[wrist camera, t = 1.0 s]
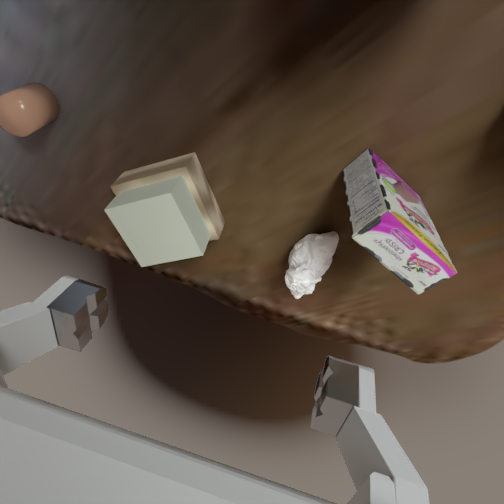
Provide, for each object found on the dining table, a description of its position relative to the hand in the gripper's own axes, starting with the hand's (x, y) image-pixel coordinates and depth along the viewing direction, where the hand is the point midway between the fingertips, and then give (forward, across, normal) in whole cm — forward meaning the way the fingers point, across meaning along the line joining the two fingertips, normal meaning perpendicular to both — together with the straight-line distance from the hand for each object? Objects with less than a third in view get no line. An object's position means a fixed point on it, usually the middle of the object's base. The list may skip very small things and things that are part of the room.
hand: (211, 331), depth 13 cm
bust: (+41, -4, +22) cm, 47 cm away
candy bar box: (+41, -11, +8) cm, 43 cm away
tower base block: (+38, +18, +17) cm, 46 cm away
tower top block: (+34, +17, +18) cm, 41 cm away
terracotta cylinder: (+35, +36, +6) cm, 51 cm away
